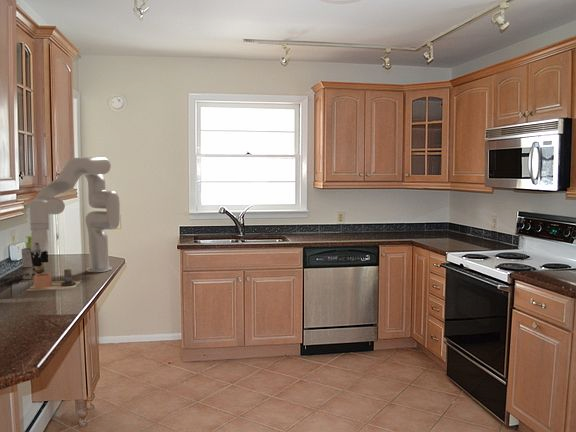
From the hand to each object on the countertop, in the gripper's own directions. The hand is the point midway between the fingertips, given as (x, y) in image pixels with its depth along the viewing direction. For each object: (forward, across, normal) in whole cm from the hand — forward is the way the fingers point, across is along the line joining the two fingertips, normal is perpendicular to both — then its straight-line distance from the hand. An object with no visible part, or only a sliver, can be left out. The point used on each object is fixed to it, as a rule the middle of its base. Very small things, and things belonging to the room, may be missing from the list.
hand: (41, 264), depth 239 cm
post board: (+12, -1, +5) cm, 13 cm away
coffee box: (+12, -21, -10) cm, 26 cm away
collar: (+10, -1, 0) cm, 10 cm away
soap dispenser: (+11, -33, -15) cm, 38 cm away
